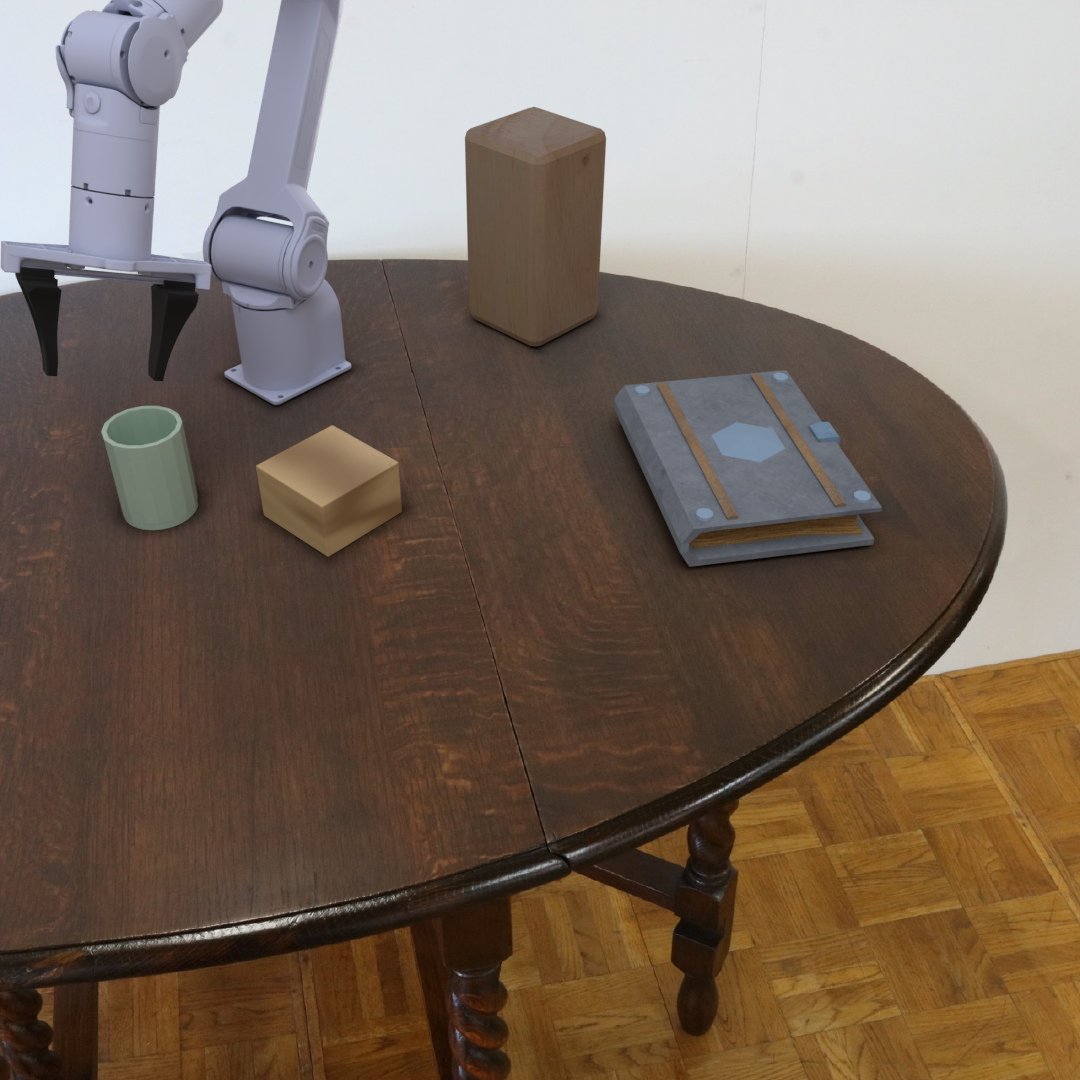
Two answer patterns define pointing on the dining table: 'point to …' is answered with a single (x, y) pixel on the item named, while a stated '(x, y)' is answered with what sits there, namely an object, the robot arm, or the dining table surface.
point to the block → (330, 489)
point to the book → (744, 467)
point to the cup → (151, 467)
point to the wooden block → (534, 223)
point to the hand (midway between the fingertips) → (103, 375)
